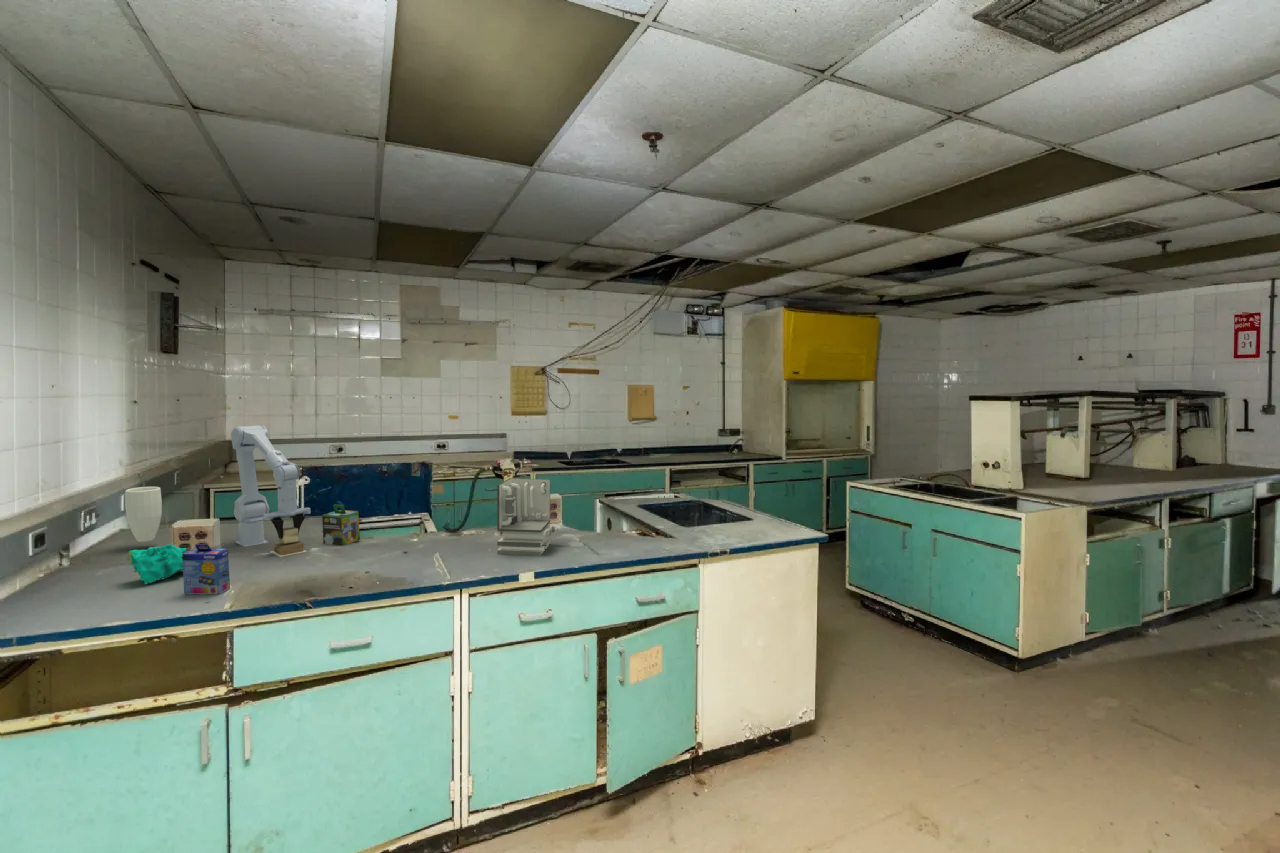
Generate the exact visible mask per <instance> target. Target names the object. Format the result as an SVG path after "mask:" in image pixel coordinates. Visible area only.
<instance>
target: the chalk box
mask: <svg viewBox="0 0 1280 853" xmlns="http://www.w3.org/2000/svg"><path fill="white" fill-rule="evenodd" d="M338 508H340V510H339V509H338ZM333 510H334V511H330V512H328V513H324V514H322V516H321V518H322V519H321V521H322V522H321V524H322V540H323V541H322V543H323V545H324V544H325V545H330V546H331V545H333V546H346V545H349V544H351V543H352V544H353V543H356V542H358V541H361V536H360V517H359V514H360V513H359V511H358V510H346V509H345V506H344V505H343V504H333Z"/></svg>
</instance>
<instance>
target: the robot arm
mask: <svg viewBox="0 0 1280 853" xmlns="http://www.w3.org/2000/svg"><path fill="white" fill-rule="evenodd" d="M230 436H231V437H230V438H231V443H232V445H231V446H232V449H233V450H235V451H236V458H237V465H238V466H237V467H238V472H239V483H240V488H241V495H240V496H239V497H238V498H236V500H235V501H234V509H233V516H234V517H235V519H236V520H237V521H238V522H239V523H238V526H237V533H238V534H237V536H238V540H237V541H235V543H236V544H238V545H240V546H241V547H250V546H251V547H252V546H257V545H261V544H262V545H263V544H267V543H269V540H266V539H265V529H264V528H265V526H264V525H265V523H264V521H271V524H273V526H274V528H275V530H276V533H277V537H278V539H279V538H280V539H282V538H283V528H284V523H285V522H284V521H285V520H283V518H287V517H292V524H293V525H292V526H293V527H295V528H298V535H300V529H301V526H302V524H303V522H304V520H305V519H306V515H309V514H311V512H312V511H311V508H310V507H300V508H298V502H297V501H298V499H297V498H298V497H297V495H298V494H297V480H298V479H299V478H300V475H301V474H300V472H301V471H300V468H299V466H298V465H297V464H296V463H293V462H290V461H289V460H288V459H287V457H286V456H285V455H284V454H283V452H282V451H281V450H279V449H278V450H276V449H275V447H274V445H273V444H272V443H271V441H270V439H269V432H268V429H267V427H266V426H265V425H263V424H258V425H244V426H243V425H242V426H238V425H237V426H235V427H233V429H232V431H231V433H230ZM256 448H257V449H259V451H260V452H261V453H262V454H263V455H264V456H265V457H264V461H265V463H266V464H267V465H268V466H269V468H270V469H271V470H272V471H273V473H272V477H273V480H274V482H275V483H274V484H275V487H276V488H277V510H276V511H271V512H270V507H269V504H268V500H267V497H266V496H265V495H263V494H261V493H260V492H259V487H258V479H257V472H256V465H255V457H254V455H255V454H254V451H255V449H256Z"/></svg>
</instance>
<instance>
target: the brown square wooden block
mask: <svg viewBox="0 0 1280 853" xmlns="http://www.w3.org/2000/svg"><path fill="white" fill-rule="evenodd" d="M304 550H305V548H304V542H302V541H299V540H298V541H296V542H291V543H285V544H284V543H282V542H280V541H279V542H274V543H273V551H274V552H276V553H278V554H280V555H287V554H292V553H297V552H302V551H304ZM302 553H303V552H302ZM297 554H298V553H297ZM292 555H293V554H292ZM287 556H288V555H287Z"/></svg>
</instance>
